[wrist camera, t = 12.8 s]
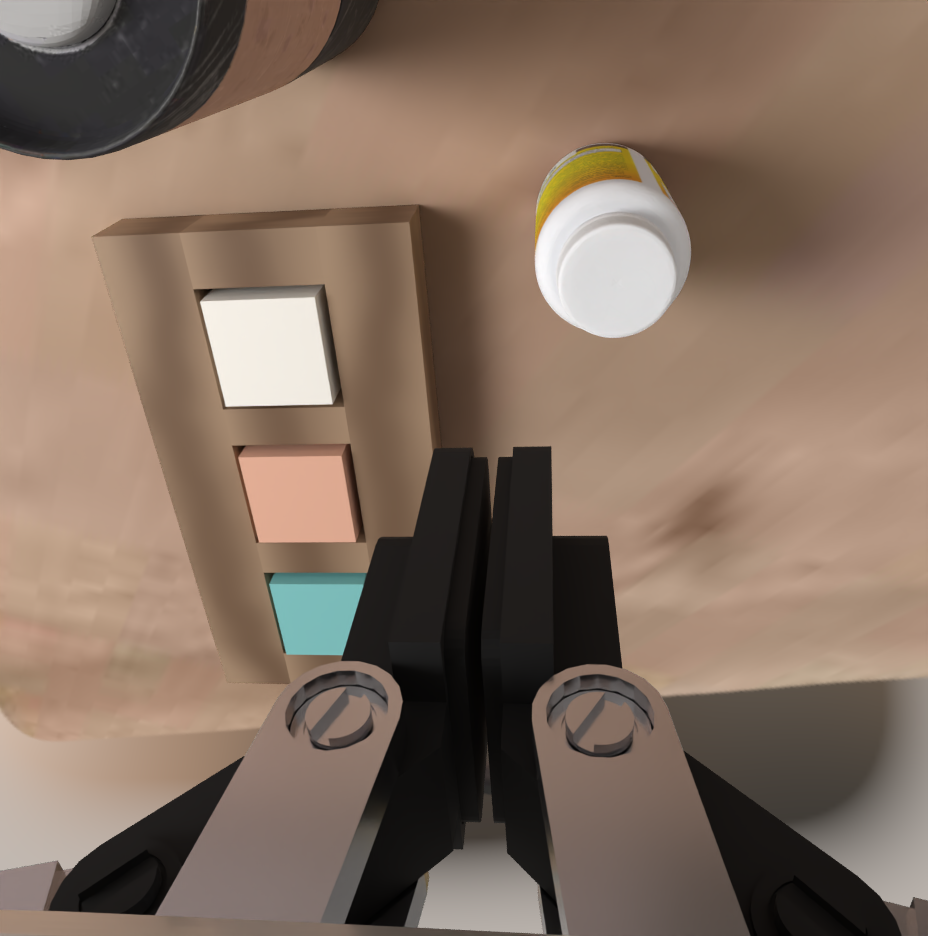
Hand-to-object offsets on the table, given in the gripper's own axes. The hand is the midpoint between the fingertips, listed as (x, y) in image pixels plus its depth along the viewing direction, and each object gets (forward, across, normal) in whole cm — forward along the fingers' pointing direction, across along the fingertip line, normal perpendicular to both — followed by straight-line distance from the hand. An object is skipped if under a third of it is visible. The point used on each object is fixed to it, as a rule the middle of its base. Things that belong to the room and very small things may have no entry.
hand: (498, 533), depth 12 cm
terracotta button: (+27, +12, +15) cm, 33 cm away
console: (+27, +12, +15) cm, 33 cm away
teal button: (+27, +12, +23) cm, 37 cm away
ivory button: (+27, +12, +7) cm, 30 cm away
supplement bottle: (+27, -3, +2) cm, 28 cm away
